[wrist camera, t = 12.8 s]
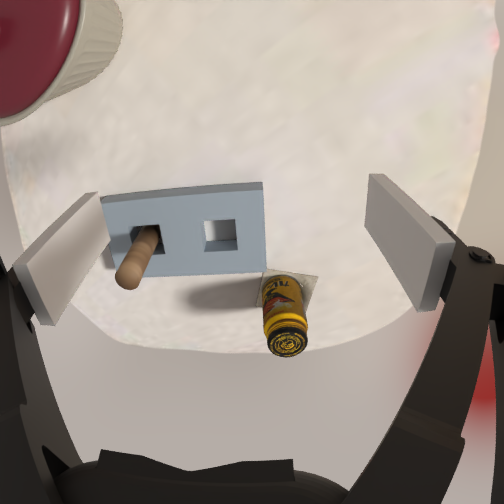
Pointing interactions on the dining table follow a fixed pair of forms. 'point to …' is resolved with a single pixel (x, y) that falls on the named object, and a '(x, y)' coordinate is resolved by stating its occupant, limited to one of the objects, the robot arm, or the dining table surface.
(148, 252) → the peg
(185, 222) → the hole block
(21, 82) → the canister
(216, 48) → the dining table surface
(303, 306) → the condiment
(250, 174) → the dining table surface
